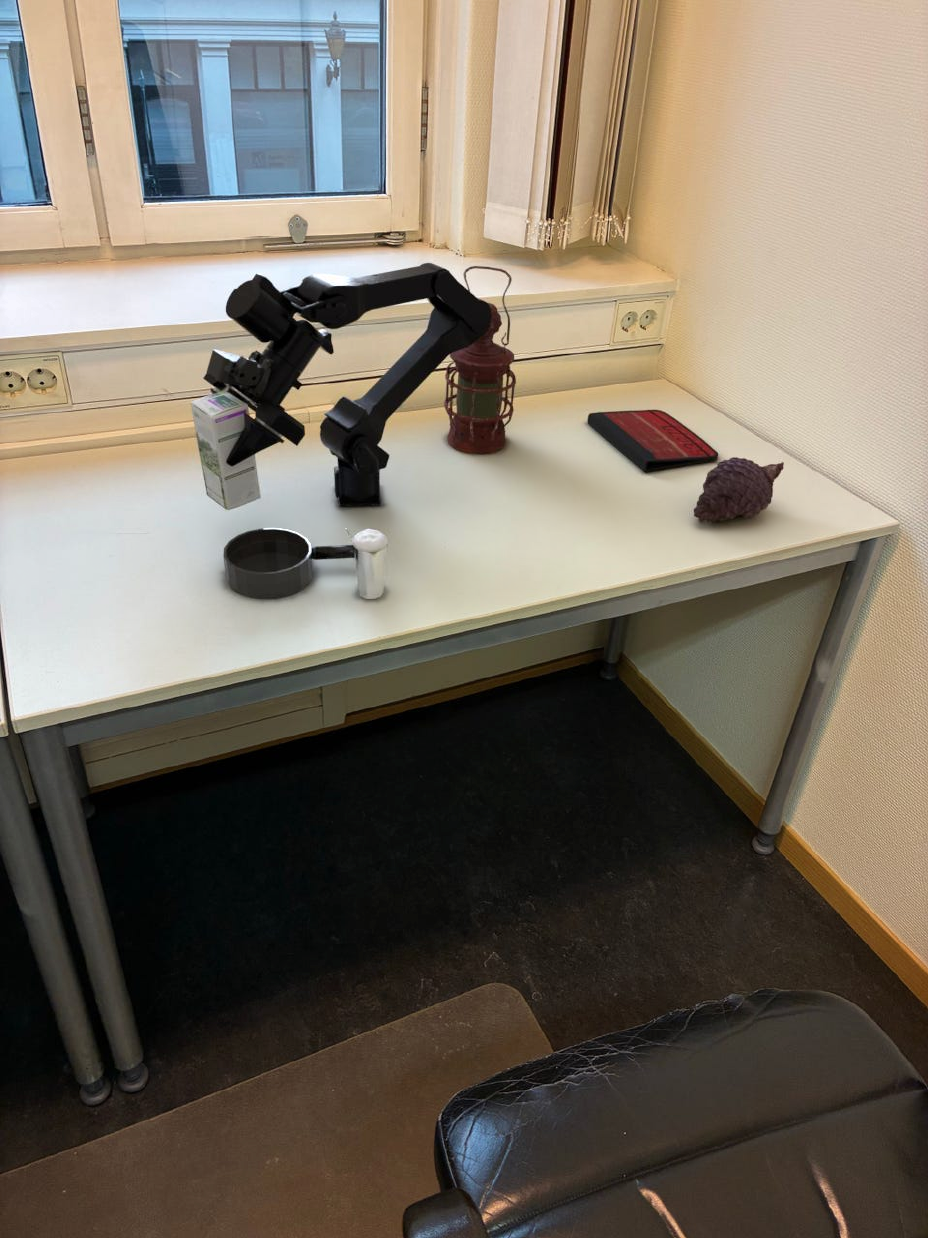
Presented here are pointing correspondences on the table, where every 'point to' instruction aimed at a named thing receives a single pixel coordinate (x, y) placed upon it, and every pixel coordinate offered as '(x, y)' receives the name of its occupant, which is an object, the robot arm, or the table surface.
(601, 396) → the table surface
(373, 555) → the milkshake
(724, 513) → the pine cone
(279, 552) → the pan
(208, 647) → the table surface
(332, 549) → the pan handle
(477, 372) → the lantern
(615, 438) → the binder
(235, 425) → the syrup box
